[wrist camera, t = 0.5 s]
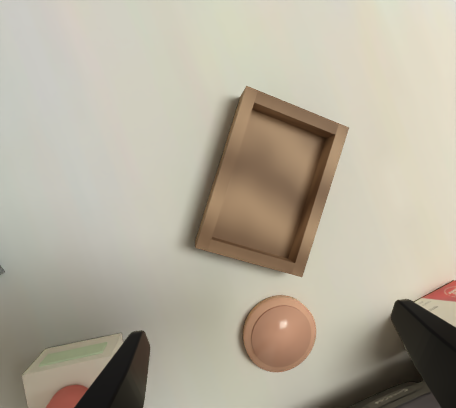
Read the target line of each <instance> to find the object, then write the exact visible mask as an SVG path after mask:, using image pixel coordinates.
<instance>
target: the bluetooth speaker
mask: <svg viewBox="0 0 456 408" xmlns="http://www.w3.org/2000/svg"><path fill="white" fill-rule="evenodd" d="M349 408H441V407H440V405H439V403H438V402H437V400H436V399H435V397H434V396H433V394H432V392H431V391H430V389H429V388H428V386H427V384H426V383H425V381H422V382H419V383H416V382H408V383H403V384H400V385H397V386H395V387H392V388H389V389H387V390H385V391H383V392H380V393H378V394H376V395H374V396H371V397H369V398H367V399H365V400H363V401H360V402H358V403H356V404H354V405H353V406H351V407H349Z"/></svg>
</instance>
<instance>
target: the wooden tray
mask: <svg viewBox="0 0 456 408" xmlns="http://www.w3.org/2000/svg"><path fill="white" fill-rule="evenodd" d="M348 129H349V128H348V127H346V126H344V125H341V124H339V123H336V122H334V121H331V120H329V119H326V118H324V117H322V116H319V115H317V114H314V113H312V112H309V111H307V110H304V109H302V108H300V107H297V106H295V105H292V104H290V103H287V102H285V101H282V100H280V99H278V98H275V97H273V96H270V95H268V94H265V93H263V92H260V91H258V90H256V89H253V88H251V87H248V86H246V88H245V90H244V91H243V93H242V95H241V97H240V100H239V103H238V106H237V109H236V112H235V116H234V119H233V122H232V125H231V128H230V131H229V135H228V138H227V141H226V144H225V147H224V151H223V154H222V157H221V160H220V163H219V166H218V170H217V173H216V176H215V179H214V182H213V185H212V189H211V192H210V195H209V198H208V201H207V205H206V208H205V211H204V214H203V217H202V220H201V224H200V227H199V230H198V233H197V236H196V240H195V247H196V248H198V249H201V250H205V251H209V252H212V253H216V254H220V255H223V256H227V257H231V258H234V259H238V260H241V261H245V262H249V263H252V264H256V265H260V266H263V267H267V268H271V269H274V270H278V271H281V272H285V273H289V274H292V275H296V276H300V277H302V276H303V273H304V269H305V266H306V263H307V260H308V257H309V253H310V250H311V247H312V244H313V241H314V238H315V234H316V231H317V228H318V225H319V222H320V218H321V215H322V212H323V209H324V206H325V203H326V199H327V196H328V193H329V190H330V187H331V183H332V180H333V177H334V174H335V171H336V168H337V164H338V161H339V158H340V155H341V152H342V148H343V145H344V142H345V139H346V136H347V133H348Z"/></svg>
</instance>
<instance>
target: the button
mask: <svg viewBox="0 0 456 408" xmlns="http://www.w3.org/2000/svg"><path fill="white" fill-rule="evenodd" d="M87 390H88V388H87V387H85V386H81V385H70V386H66V387H64V388H62V389H60V390H59V391H58V392H57V393H55V395H54V396H53V397H52V399H51V400H50V402H49V403H48V405H47V406H46V408H74V407H75V405H76V404H77V403H78V402H79V400H80V399H81V398H82V396H83V395H84V394H85V392H86V391H87Z"/></svg>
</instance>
